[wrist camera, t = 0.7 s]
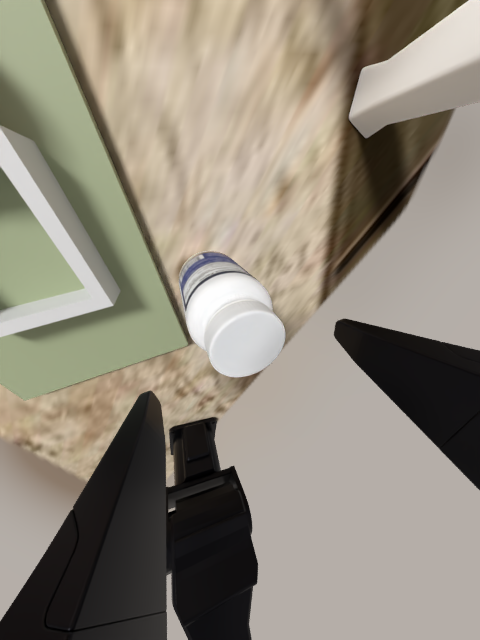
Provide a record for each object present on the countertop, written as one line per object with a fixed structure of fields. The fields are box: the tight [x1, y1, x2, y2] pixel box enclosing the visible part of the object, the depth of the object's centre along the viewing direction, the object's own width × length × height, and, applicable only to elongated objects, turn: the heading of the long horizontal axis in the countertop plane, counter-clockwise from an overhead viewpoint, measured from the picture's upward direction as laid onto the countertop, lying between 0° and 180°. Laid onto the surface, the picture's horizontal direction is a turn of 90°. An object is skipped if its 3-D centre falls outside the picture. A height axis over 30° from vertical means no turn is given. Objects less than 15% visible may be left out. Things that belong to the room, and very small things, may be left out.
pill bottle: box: [179, 251, 285, 377], centre depth 13 cm, size 5×5×10 cm
